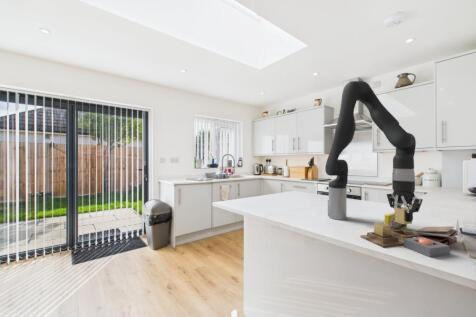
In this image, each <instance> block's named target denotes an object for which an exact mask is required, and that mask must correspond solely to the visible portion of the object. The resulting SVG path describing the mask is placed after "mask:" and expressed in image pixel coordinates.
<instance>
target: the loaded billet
mask: <svg viewBox="0 0 476 317" xmlns="http://www.w3.org/2000/svg"><path fill="white" fill-rule="evenodd" d="M373 232H374V235H376V236H379V237H381V238H388V237H391V225H388V224H385V223H384V222H374V223H373Z"/></svg>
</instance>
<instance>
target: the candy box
mask: <svg viewBox="0 0 476 317" xmlns="http://www.w3.org/2000/svg"><path fill="white" fill-rule="evenodd" d="M383 219H384V222H383V223H385V224H388V225H391V230H400V229H403V230H406V229H407V228H408V224H401V223H398V222H395V212H392V213H388V214H386V213H385V214H384V217H383Z"/></svg>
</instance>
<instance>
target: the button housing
mask: <svg viewBox="0 0 476 317" xmlns="http://www.w3.org/2000/svg"><path fill="white" fill-rule="evenodd" d="M419 238H426V239H428V238H427V237H424V236H420V237H416V238H406V239H404V245H403V248H406V249H409V250H412V251H413V252H416V253H419V254H421V255H424V256H426V257H428V258H434V257H435V258H436V257H442V256H449V255H450V254H451V253H450V252H451V249H450V245H448V244H446V243H442V242H440V241H436V240H433V239H431V240H432V241H433V245H429V246H428V245H425V244H422V243H419Z"/></svg>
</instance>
